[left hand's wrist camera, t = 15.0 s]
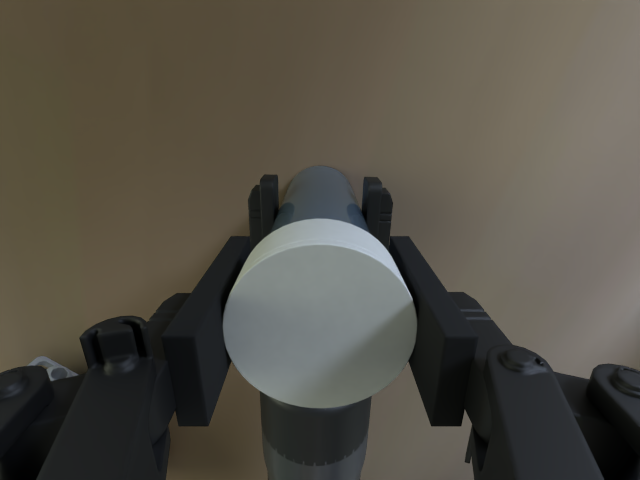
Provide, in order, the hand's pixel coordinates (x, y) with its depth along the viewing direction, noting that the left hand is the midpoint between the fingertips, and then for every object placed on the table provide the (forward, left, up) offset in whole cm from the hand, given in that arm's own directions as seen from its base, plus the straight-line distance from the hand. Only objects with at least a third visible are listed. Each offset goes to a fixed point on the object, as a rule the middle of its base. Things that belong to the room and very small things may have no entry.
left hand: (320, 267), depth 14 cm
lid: (0, 0, +4) cm, 4 cm away
